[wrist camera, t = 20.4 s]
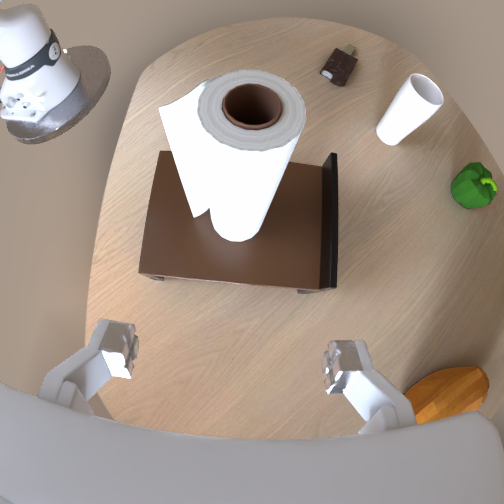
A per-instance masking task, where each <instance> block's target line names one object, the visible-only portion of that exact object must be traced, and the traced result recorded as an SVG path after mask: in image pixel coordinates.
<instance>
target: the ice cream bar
mask: <svg viewBox="0 0 504 504" xmlns="http://www.w3.org/2000/svg"><path fill="white" fill-rule="evenodd" d="M354 49H355V47H354V46H353V45H350V44H349V45H348V46H347V47H346V49H345V50H344V52H343V51H341V50H339V49H337V48H336V49H335V50H334V52H333V53H332V55H331V56H330V58H329V59H328V61H327V62H326V64H325V65H324V67H323V68H322V70H321V72H320V74H322V75H323V76H325V77H327V78H329V79H330V82H332V83H333V84H335V85H338V86H343V85H345V83H346V81H347V79H348V77H349V75H350V74H351V72H352V70H353V68H354V66H355V64H356V62H357V61H358V59H357V58H355V57H353V56H351V54H352V53H353V51H354Z"/></svg>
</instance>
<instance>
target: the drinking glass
mask: <svg viewBox="0 0 504 504" xmlns="http://www.w3.org/2000/svg"><path fill="white" fill-rule="evenodd" d="M443 102H444V98H443V94H442V92H441V90H440V89H439V87H438V86H437V85H436V84H435V83H434V82H433V81H432V80H431V79H429V78H428V77H426V76H424V75H422V74H419V73H413V74H411V75H410V76H409V77H408V79H407V80H406V81H405V82H404V83H403V85H402V86H401V87H400V89H399V90H398V92H397V94H396V95H395V97H394V99H393V100H392V102H391V104H390V105H389V107H388V109H387V110H386V112H385V114H384V115H383V117H382V119H381V120H380V121H379V123H378V124H377V126H376V132H377V135H378V136H379V138H380V139H381V140H382V141H383V142H384V143H386V144H388V145H397V144H398V143H399V142H400V141H401V140H402V139H404V138H405V137H406V136H407V135H409V134H410V133H411V132H412V131H414V130H415V129H416V128H418V127H419V126H420V125H421V124H423V123H424V122H425V121H427V120H428V119H429V118H430V117H431V116H432V115H433V114H434V113H435V112H436V111H437V110H438V109H439V108H440V107H441V106H442V104H443Z"/></svg>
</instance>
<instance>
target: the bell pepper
mask: <svg viewBox="0 0 504 504" xmlns="http://www.w3.org/2000/svg"><path fill="white" fill-rule="evenodd" d="M497 190H498V188H497V185H496V183H495V181H494V180H493V179H492V174H491V172H490V171H488V170H487V169H486V168H485V167H484V166H483V165H482V164H481V163H480V162H475V163H470V164H468V165H467V166H465V167H464V168H463V170H462V171H461V172H460V173H459V174H458V175H457V177H456V178H455V179H454V181H453V182H452V184H451V192H452V195H453V197H454V199H455V200H456V201H457V202H459V203H461V205H462V206H463V207H465V208H479V207H483V206H485V205H488V204H490V203H491V201H492V200H493V199H494V197H495V196H496V191H497Z"/></svg>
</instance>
